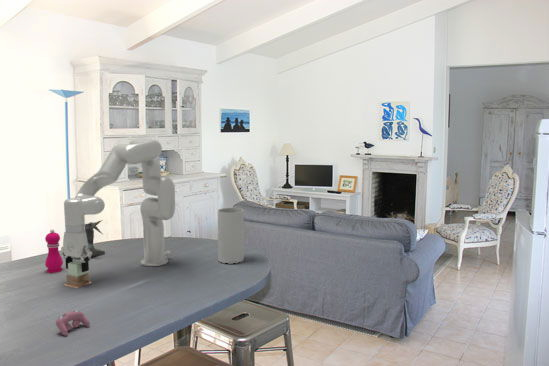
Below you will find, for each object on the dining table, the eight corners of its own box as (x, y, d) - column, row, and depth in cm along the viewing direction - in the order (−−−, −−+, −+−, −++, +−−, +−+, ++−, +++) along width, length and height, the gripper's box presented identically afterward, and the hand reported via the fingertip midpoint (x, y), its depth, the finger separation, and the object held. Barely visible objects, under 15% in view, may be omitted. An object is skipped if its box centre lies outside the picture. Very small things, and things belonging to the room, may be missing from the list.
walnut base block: (78, 280, 212) (78, 271, 211) (88, 282, 209) (88, 273, 209) (67, 284, 207) (66, 275, 206) (77, 286, 204) (76, 277, 203)
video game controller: (84, 328, 172) (78, 308, 173) (91, 325, 169) (85, 305, 170) (58, 338, 164) (51, 318, 164) (65, 336, 161) (58, 315, 162)
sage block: (78, 271, 211) (77, 260, 210) (86, 273, 208) (86, 261, 208) (68, 275, 206) (67, 263, 206) (77, 276, 204) (76, 265, 203)
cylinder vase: (248, 261, 243) (248, 211, 240) (225, 265, 236) (225, 213, 233) (235, 255, 253) (235, 206, 250) (213, 259, 247) (213, 209, 243)
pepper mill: (56, 275, 221) (54, 231, 218) (42, 274, 222) (39, 230, 219) (66, 270, 228) (64, 227, 225) (52, 269, 229) (50, 227, 226)
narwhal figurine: (68, 256, 250) (66, 221, 247) (98, 250, 260) (96, 216, 257) (79, 263, 239) (77, 226, 237) (110, 256, 250) (108, 221, 247)
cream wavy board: (84, 273, 224) (84, 271, 224) (108, 279, 217) (108, 276, 217) (51, 285, 209) (51, 282, 209) (77, 291, 202) (76, 288, 202)
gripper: (52, 228, 205) (55, 268, 208) (82, 233, 197) (85, 275, 200) (68, 224, 212) (70, 264, 214) (97, 229, 204) (99, 270, 206)
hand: (77, 269), depth 207 cm, fingers open, 8 cm apart
